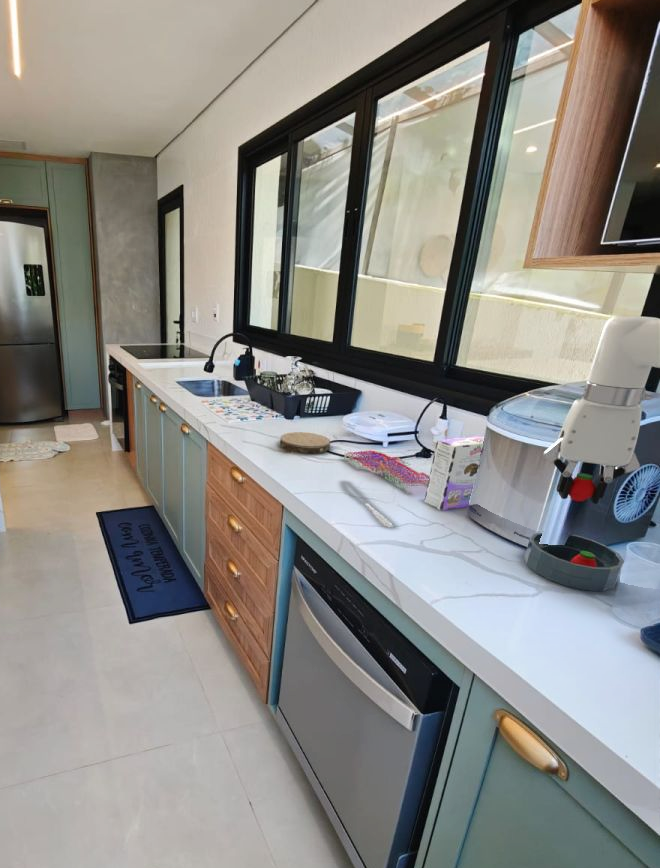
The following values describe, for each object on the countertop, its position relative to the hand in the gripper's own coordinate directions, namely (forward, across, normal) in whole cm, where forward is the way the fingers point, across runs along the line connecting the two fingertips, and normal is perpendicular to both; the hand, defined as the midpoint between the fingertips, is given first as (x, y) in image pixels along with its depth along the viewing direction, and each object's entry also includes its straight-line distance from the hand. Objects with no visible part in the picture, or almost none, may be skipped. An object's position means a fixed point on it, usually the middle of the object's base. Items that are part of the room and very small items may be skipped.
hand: (577, 497), depth 89 cm
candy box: (+15, +16, -27) cm, 35 cm away
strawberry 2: (+14, -4, +1) cm, 15 cm away
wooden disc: (+15, +60, -56) cm, 84 cm away
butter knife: (+15, +37, -17) cm, 43 cm away
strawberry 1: (0, 0, 0) cm, 0 cm away
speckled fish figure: (+15, +32, -41) cm, 54 cm away
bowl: (+15, -2, -1) cm, 15 cm away
